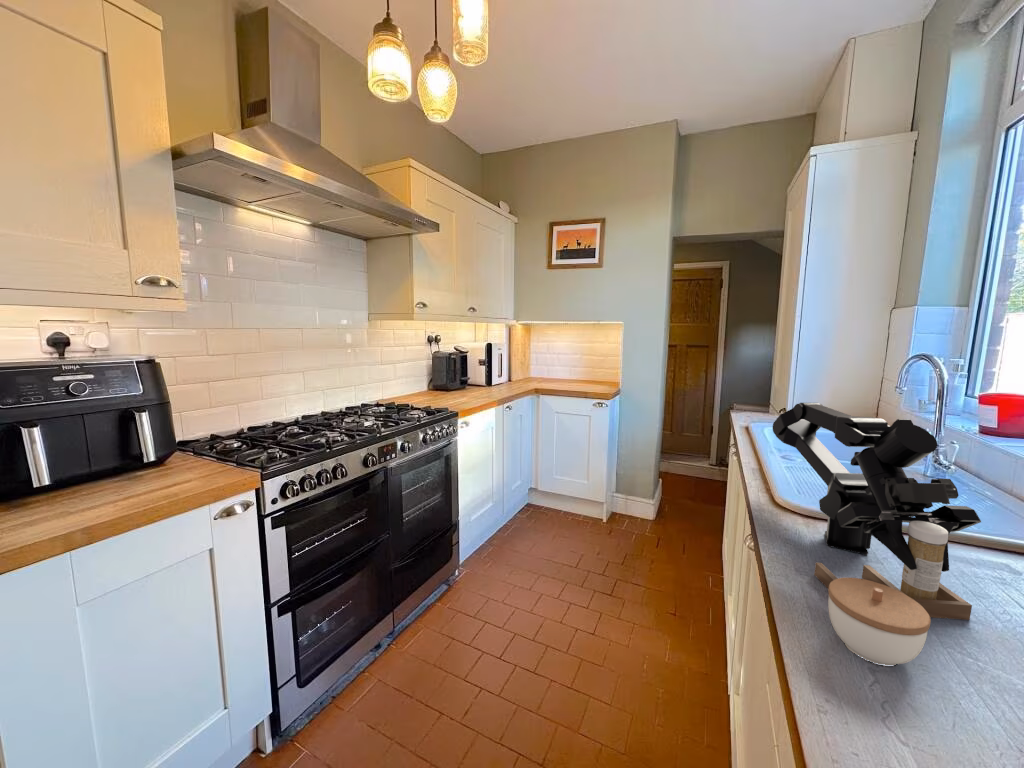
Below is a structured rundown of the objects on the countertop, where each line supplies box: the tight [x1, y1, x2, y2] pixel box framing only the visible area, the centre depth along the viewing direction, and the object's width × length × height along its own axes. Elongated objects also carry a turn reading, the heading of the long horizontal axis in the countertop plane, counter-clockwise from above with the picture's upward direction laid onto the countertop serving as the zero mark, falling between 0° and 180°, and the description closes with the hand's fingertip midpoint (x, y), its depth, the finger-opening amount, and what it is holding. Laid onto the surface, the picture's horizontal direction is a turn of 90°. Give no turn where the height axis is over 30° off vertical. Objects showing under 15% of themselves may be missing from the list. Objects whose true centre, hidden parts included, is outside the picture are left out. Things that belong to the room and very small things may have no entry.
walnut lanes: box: [813, 562, 973, 621], centre depth 70 cm, size 10×17×2 cm, turn 83°
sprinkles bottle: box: [899, 521, 949, 600], centre depth 68 cm, size 5×5×14 cm
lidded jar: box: [827, 577, 931, 666], centre depth 58 cm, size 11×11×9 cm
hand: (929, 570), depth 66 cm, fingers closed on sprinkles bottle, 4 cm apart
